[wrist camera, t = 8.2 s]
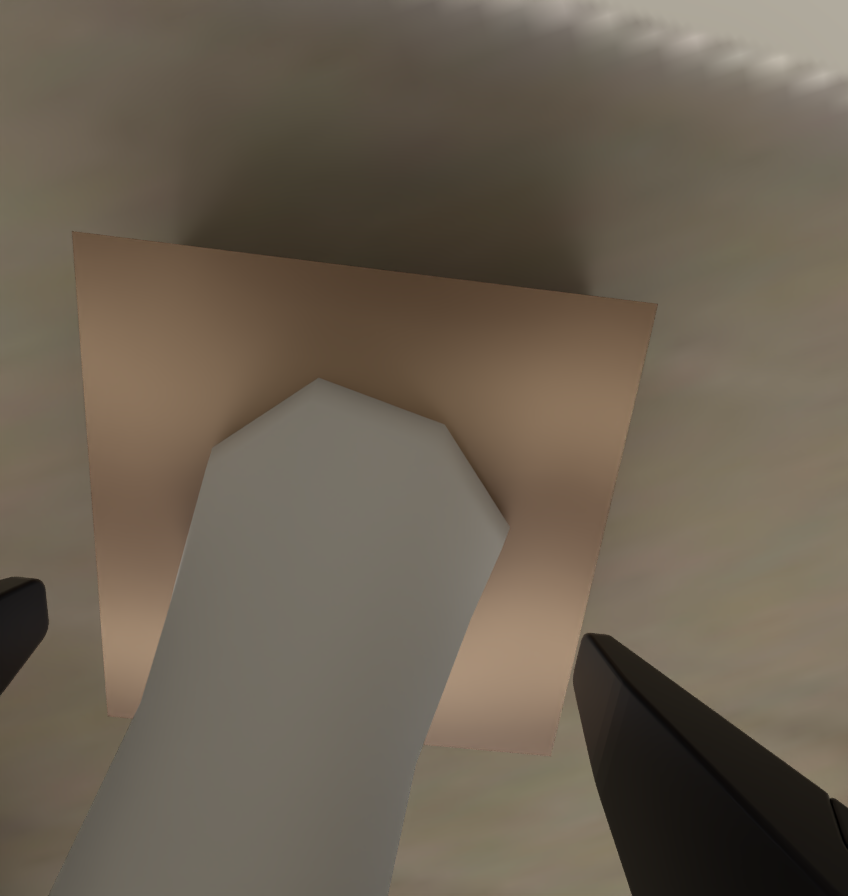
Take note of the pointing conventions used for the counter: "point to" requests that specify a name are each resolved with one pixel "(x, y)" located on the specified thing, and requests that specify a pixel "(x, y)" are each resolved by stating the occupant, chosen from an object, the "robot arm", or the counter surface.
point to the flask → (296, 659)
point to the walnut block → (378, 376)
